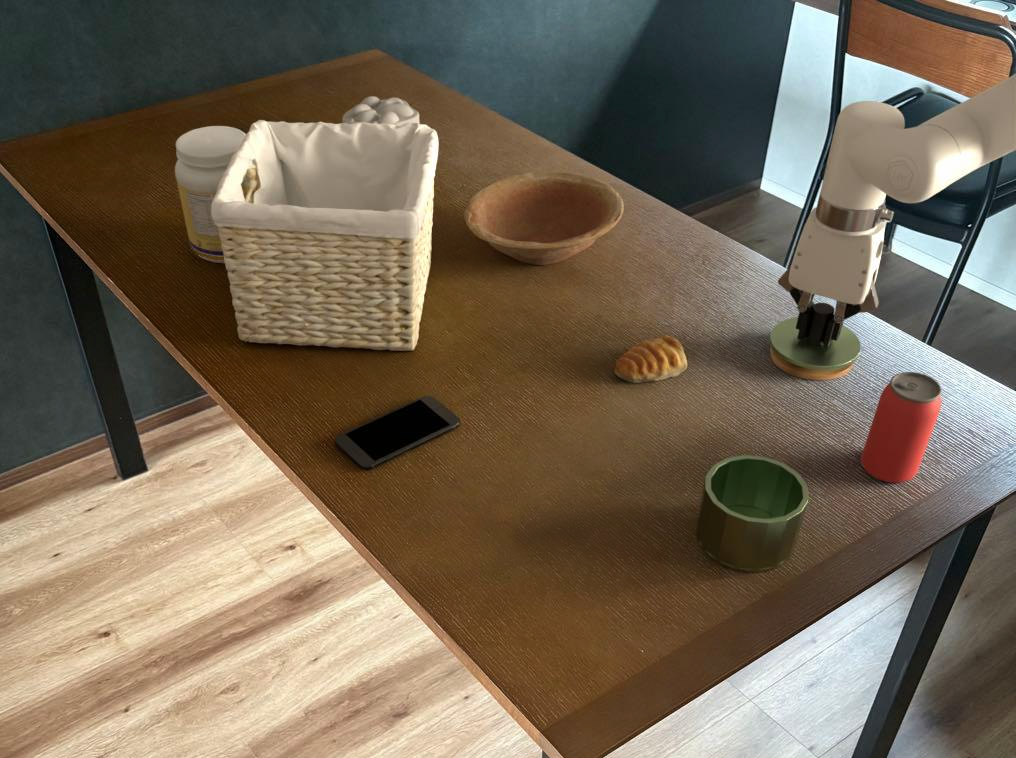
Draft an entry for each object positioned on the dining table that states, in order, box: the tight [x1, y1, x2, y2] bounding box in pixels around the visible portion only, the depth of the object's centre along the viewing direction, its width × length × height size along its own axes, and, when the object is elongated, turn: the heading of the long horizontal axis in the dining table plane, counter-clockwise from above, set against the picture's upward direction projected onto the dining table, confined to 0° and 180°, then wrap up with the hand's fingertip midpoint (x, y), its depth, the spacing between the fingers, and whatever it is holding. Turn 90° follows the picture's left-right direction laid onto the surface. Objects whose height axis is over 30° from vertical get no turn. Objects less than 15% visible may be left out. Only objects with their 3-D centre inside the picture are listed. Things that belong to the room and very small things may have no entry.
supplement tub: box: [174, 125, 249, 264], centre depth 162 cm, size 12×12×17 cm
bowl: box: [463, 171, 625, 266], centre depth 164 cm, size 24×24×8 cm
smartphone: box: [333, 395, 461, 471], centre depth 134 cm, size 7×15×1 cm, turn 128°
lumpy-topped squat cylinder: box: [341, 95, 421, 127], centre depth 188 cm, size 10×13×9 cm
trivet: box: [769, 346, 855, 381], centre depth 145 cm, size 11×11×1 cm
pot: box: [695, 454, 810, 573], centre depth 118 cm, size 11×11×8 cm
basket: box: [211, 119, 440, 352], centre depth 148 cm, size 27×27×22 cm
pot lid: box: [769, 302, 862, 370], centre depth 143 cm, size 12×12×6 cm
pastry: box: [614, 334, 688, 384], centre depth 142 cm, size 9×7×4 cm
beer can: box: [860, 371, 943, 484], centre depth 125 cm, size 7×7×12 cm
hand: (816, 337), depth 144 cm, fingers closed on pot lid, 2 cm apart
